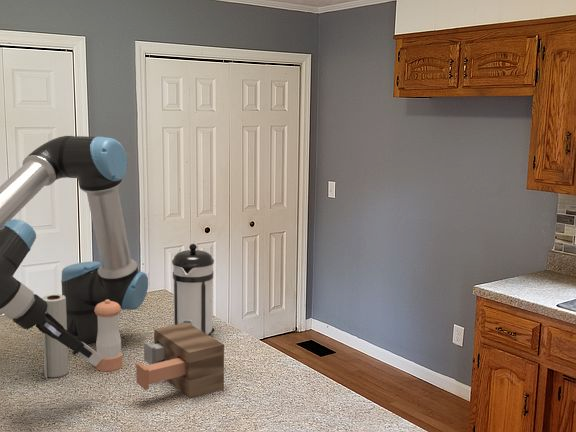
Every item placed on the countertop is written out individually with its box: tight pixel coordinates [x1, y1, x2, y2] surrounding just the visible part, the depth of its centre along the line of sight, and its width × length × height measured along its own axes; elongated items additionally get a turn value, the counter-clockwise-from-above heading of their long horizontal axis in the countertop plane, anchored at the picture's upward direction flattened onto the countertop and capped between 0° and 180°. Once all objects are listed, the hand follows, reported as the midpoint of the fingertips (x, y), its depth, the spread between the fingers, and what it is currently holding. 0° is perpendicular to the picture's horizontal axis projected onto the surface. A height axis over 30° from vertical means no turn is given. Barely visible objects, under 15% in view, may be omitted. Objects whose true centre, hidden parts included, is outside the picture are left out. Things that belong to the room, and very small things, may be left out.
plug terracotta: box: [135, 357, 186, 391], centre depth 157 cm, size 5×14×5 cm, turn 127°
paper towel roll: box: [41, 294, 69, 381], centre depth 168 cm, size 7×6×21 cm
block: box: [153, 323, 225, 399], centre depth 167 cm, size 20×10×12 cm, turn 37°
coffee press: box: [171, 243, 215, 335], centre depth 198 cm, size 17×16×30 cm
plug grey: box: [143, 341, 165, 365], centre depth 170 cm, size 5×14×5 cm, turn 127°
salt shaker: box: [94, 299, 124, 372], centre depth 174 cm, size 7×7×19 cm
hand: (98, 360), depth 154 cm, fingers closed
